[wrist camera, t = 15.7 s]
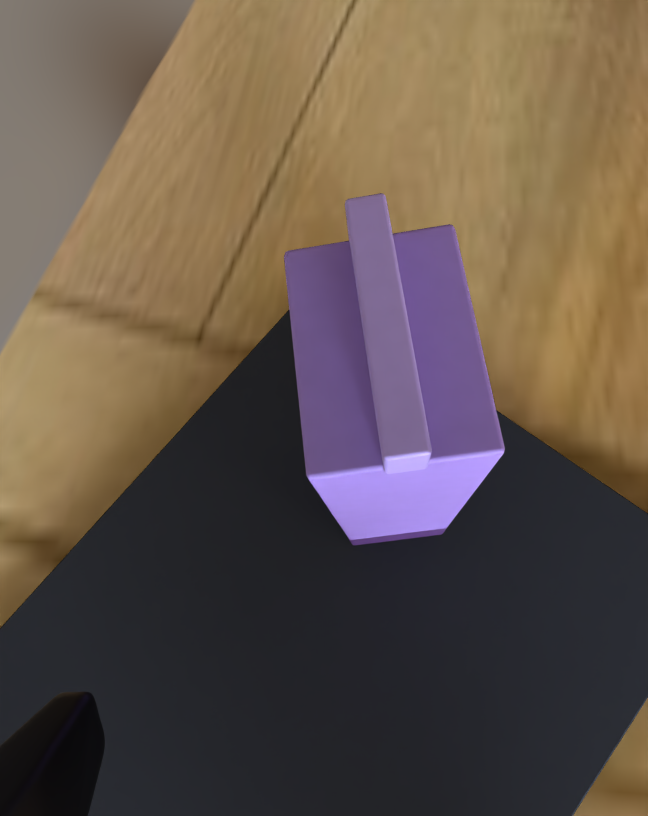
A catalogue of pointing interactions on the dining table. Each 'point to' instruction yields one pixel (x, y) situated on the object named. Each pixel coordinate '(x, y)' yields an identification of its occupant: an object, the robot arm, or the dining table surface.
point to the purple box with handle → (390, 377)
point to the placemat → (338, 631)
